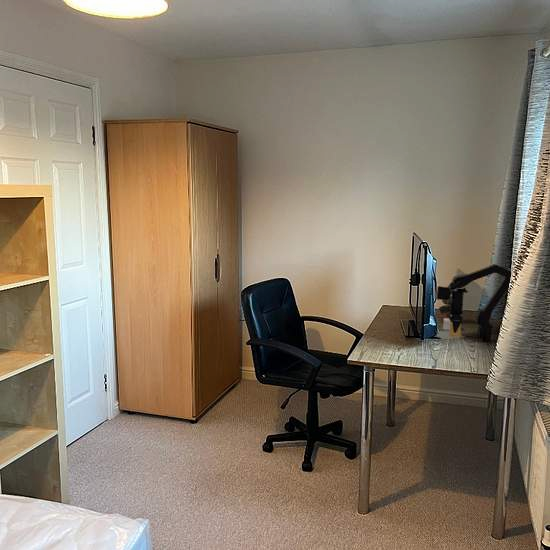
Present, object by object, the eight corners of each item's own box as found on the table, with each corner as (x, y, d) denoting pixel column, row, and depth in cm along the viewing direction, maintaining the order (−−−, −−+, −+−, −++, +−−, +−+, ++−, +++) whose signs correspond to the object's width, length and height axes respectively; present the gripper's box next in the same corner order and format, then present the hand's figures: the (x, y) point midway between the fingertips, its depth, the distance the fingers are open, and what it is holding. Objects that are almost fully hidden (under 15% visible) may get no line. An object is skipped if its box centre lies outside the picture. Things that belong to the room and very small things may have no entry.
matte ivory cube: (453, 329, 304) (454, 319, 303) (453, 332, 299) (454, 321, 298) (443, 328, 306) (444, 318, 305) (442, 331, 301) (443, 320, 300)
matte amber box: (460, 335, 288) (461, 323, 287) (460, 337, 283) (461, 326, 282) (449, 334, 290) (450, 322, 289) (449, 336, 284) (449, 324, 284)
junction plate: (466, 339, 284) (466, 330, 284) (444, 341, 279) (444, 332, 278) (447, 332, 297) (448, 324, 296) (426, 334, 291) (426, 326, 291)
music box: (458, 325, 316) (457, 290, 313) (438, 324, 320) (437, 289, 318) (460, 319, 330) (460, 286, 327) (441, 319, 334) (440, 286, 332)
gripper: (441, 296, 295) (439, 325, 297) (439, 302, 277) (437, 333, 280) (463, 298, 291) (461, 327, 294) (463, 304, 274) (461, 335, 276)
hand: (454, 330), depth 286 cm, fingers open, 9 cm apart
